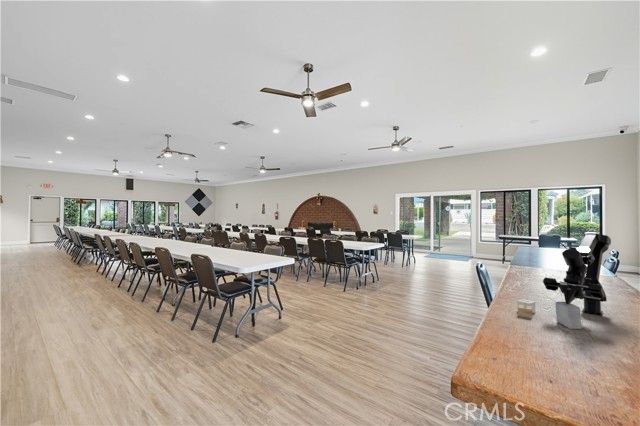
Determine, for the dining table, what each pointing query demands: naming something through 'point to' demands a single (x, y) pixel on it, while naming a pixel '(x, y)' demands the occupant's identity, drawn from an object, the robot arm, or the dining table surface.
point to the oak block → (525, 311)
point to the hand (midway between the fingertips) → (567, 303)
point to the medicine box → (568, 315)
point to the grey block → (527, 304)
